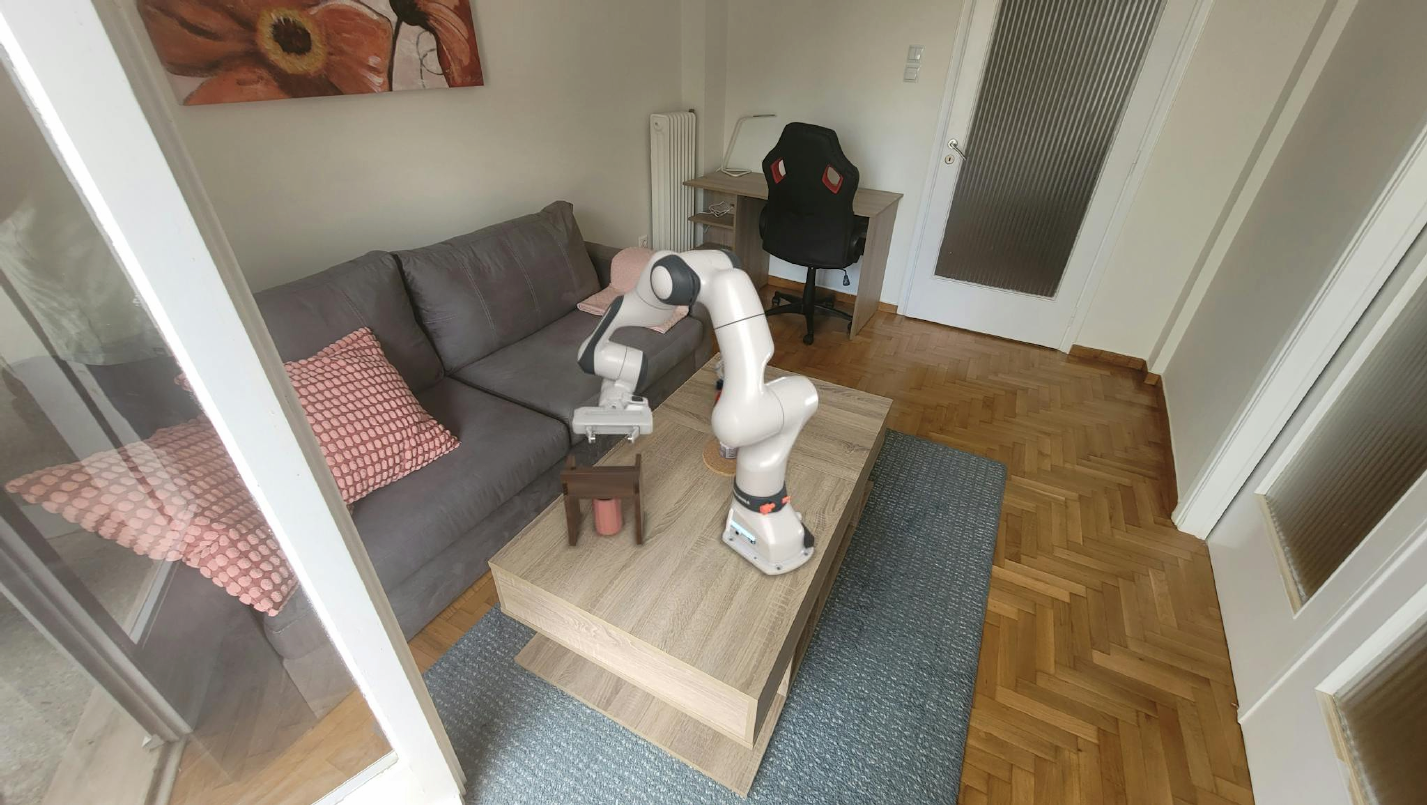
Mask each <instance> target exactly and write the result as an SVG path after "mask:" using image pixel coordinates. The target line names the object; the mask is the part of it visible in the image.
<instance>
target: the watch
mask: <svg viewBox="0 0 1427 805" xmlns="http://www.w3.org/2000/svg"><path fill="white" fill-rule="evenodd" d="M723 368H724V366H723V360H722V358H721V359H720V360H719V361H718V362H717V363H716V364H715V366H714V369H715V372H716V375H717V376H718V378H719V379H718V380H716V390H717V391H720V390H722V388H723V381H724V372H723V371H722V369H723Z"/></svg>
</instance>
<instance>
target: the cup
mask: <svg viewBox="0 0 1427 805" xmlns="http://www.w3.org/2000/svg"><path fill="white" fill-rule="evenodd" d="M591 503H592V512H593V522H594V528H595V531H596V532H597V533H598V534H600V535H604V536H611V535H615V534H617V533H619V532H620V531H621V530H622V528H623V526H624V519H623V505H622V499H591Z"/></svg>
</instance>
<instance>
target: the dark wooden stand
mask: <svg viewBox="0 0 1427 805" xmlns="http://www.w3.org/2000/svg"><path fill="white" fill-rule="evenodd" d="M575 458H576V457H575V454H574V453H573V454H571V453H570V454H568V456H567V460H566V464H565V468H564V469H561V470H560V475H559V476H560V482H561V490H562V496H563V501H564V502H563V503H564V510H565V518H566V525H567V532H568V538H569V546H571V547H574V546H575V547H576V546H577V539H578V535H579V531H580V525H581V520H582V509H581V501H580V500H592V499H621V500H623V499H624V500H625V499H627V500H629V499H632V500H633V499H634V514H635V534H636V545H643V538H644V537H643V536H644V523H645V522H644V520H645V519H644V518H645V507H644V485H643V484H644V483H643V461H642V460H643V459H642V453H635V462H634V465H600V466H599V465H597V466H596V465H595V466H594V465H593V466H592V465H591V466H585V465H584V466H576V459H575Z"/></svg>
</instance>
